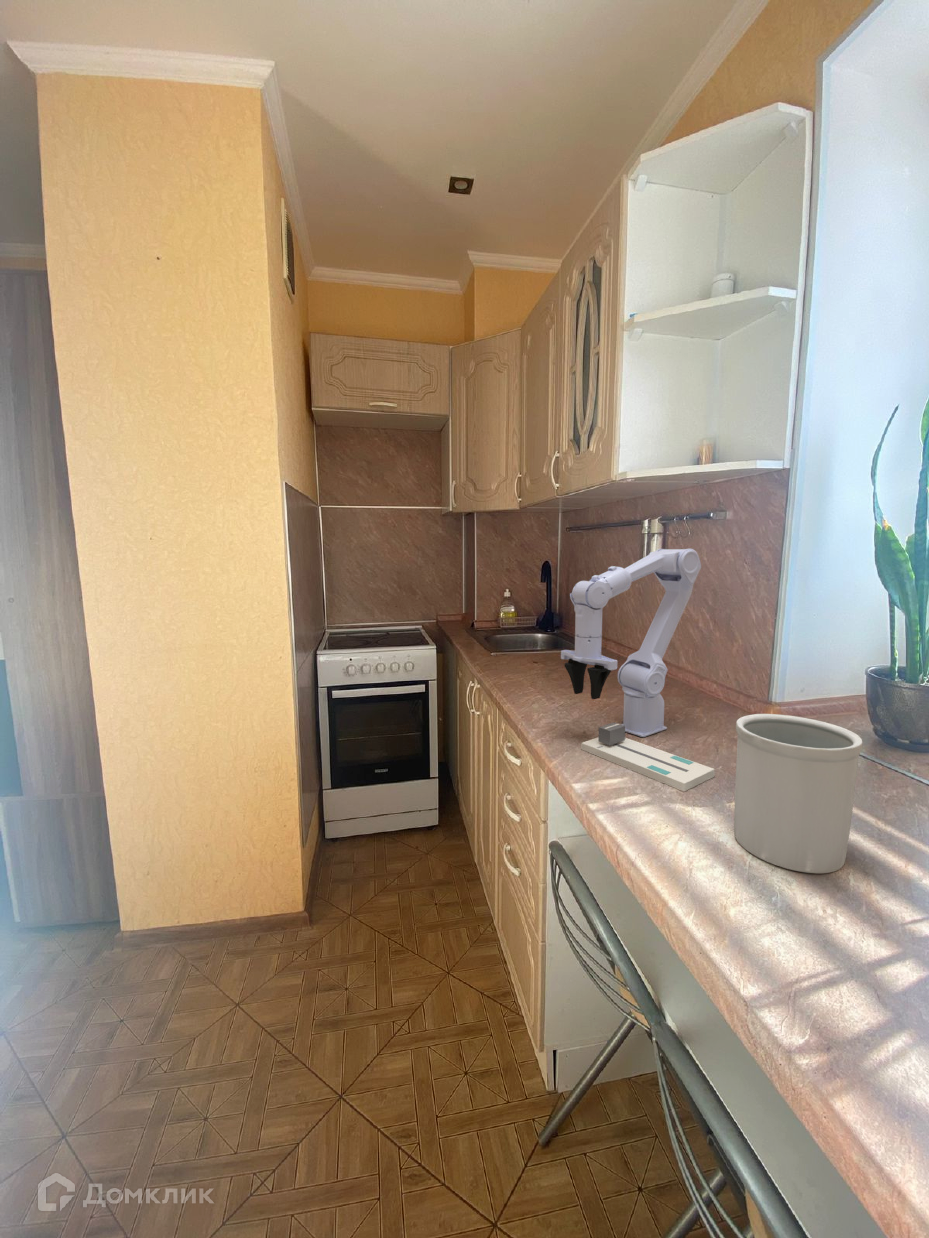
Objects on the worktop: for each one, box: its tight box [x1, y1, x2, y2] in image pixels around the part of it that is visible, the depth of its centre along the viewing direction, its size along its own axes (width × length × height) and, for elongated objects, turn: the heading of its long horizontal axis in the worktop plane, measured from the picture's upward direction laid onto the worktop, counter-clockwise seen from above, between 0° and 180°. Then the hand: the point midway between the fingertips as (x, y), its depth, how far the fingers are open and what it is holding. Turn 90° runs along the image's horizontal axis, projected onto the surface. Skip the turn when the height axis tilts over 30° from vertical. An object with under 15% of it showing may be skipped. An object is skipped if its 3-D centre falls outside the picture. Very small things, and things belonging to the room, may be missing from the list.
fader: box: [597, 721, 626, 746], centre depth 109 cm, size 5×3×3 cm, turn 125°
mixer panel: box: [580, 736, 716, 792], centre depth 103 cm, size 10×24×2 cm, turn 35°
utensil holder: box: [733, 713, 863, 874], centre depth 73 cm, size 15×15×18 cm
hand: (586, 695), depth 114 cm, fingers open, 4 cm apart
